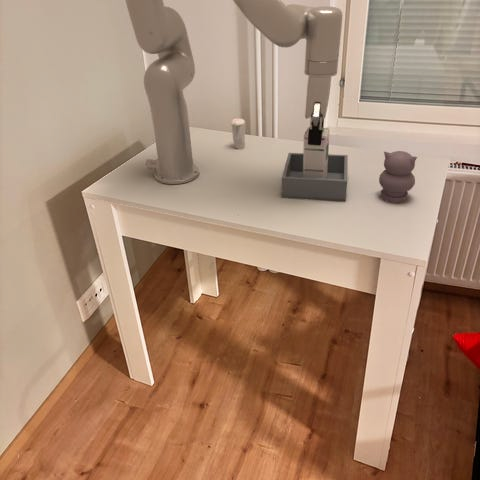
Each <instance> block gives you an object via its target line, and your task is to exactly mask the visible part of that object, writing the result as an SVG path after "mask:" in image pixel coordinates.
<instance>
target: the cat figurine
mask: <svg viewBox="0 0 480 480" xmlns="http://www.w3.org/2000/svg"><path fill="white" fill-rule="evenodd" d="M383 153H384V162H383V166H384V170H383V171H382V172H381V173H380V174H379V178H378V183H379V185H380V186H381V188H382V189H381V191H380V198H381V199H382V200H383V201H386V202H388V203H391V204H393V203H394V204H399V203H400V204H401V203H404V202H405V201H407V199H408V194H409V193H408V192H409V191H410V190H412V189H413V187H414V186H415V185H416V180H415V179H416V178H415V175H414V174H413V173H412V172H413V170H414V169H415V166H416V161H417V159H418V157H417V156H413V155H412V154H411V153H409V152H406V151H402V150H395V151H392V152H388V151H383Z"/></svg>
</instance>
